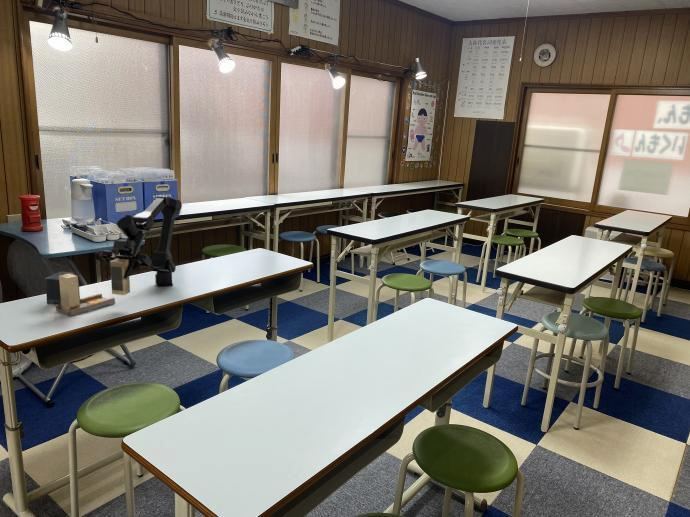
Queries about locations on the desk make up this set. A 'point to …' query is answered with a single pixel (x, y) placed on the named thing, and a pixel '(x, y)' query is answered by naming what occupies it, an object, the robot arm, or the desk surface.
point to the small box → (54, 288)
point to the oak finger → (119, 277)
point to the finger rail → (77, 297)
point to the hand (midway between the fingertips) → (118, 277)
